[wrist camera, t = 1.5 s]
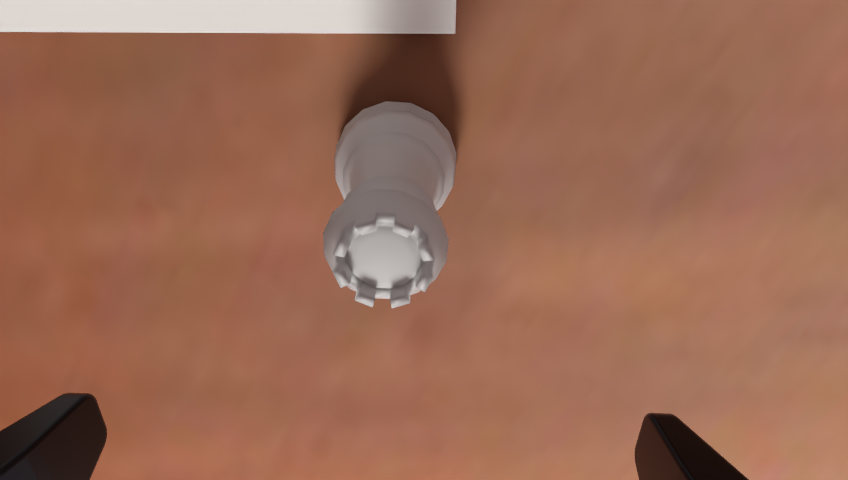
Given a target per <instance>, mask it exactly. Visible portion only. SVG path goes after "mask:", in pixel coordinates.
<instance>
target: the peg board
mask: <svg viewBox="0 0 848 480" xmlns="http://www.w3.org/2000/svg"><path fill="white" fill-rule="evenodd" d="M455 25H456V0H0V32H162V33H383V34H455Z"/></svg>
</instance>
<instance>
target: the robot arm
mask: <svg viewBox="0 0 848 480" xmlns="http://www.w3.org/2000/svg"><path fill="white" fill-rule="evenodd" d="M106 438H107V429H106V425H105V423H104V420H103V417H102V414H101V412H100V409H99V406H98V403H97V400H96V398H95V397H94V396H93V395H92V394H88V393H66V394H63V395H61V396H59V397H57V398H56V399H54V400H52V401H50V402H49V403H47V404H45V405H44V406H42V407H40V408H39V409H37V410H35V411H34V412H32V413H30V414H29V415H27V416H25V417H23V418H22V419H20V420H18V421H17V422H15V423H13V424H12V425H10V426H8V427H7V428H5V429H3V430H2V431H0V480H90V478H91V475H92V473H93V471H94V468H95V466H96V464H97V461H98V459H99V457H100V454H101V452H102V450H103V448H104V445H105V442H106ZM635 463H636V467H637V472H638V476H639V480H749V479H747V478H746V477H745V476H744V475H743V474H742V473H740V472H739V471H738V470H737V469H736V468H735V467H734V466H732V465H731V464H730V463H729V462H728V461H727V460H726V459H724V458H723V457H722V456H721V455H720V454H719V453H718V452H716V451H715V450H714V449H713V448H712V447H711V446H710V445H708V444H707V443H706V442H705V441H704V440H703V439H702V438H700V437H699V436H698V435H697V434H696V433H695V432H694V431H692V430H691V429H690V428H689V427H688V426H687V425H686V424H684V423H683V422H682V421H681V420H680V419H679V418H677V417H676V416H674V415H672V414H664V413H649V414H647V415H646V416H645V417H644V420H643V423H642V426H641V430H640V433H639V437H638V440H637V443H636V447H635Z"/></svg>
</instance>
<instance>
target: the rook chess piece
mask: <svg viewBox="0 0 848 480" xmlns="http://www.w3.org/2000/svg"><path fill="white" fill-rule="evenodd" d="M456 155H457V154H456V151H455V148H454V145H453V142H452V139H451V135H450V132H449V131H448V130H447V129H446V128H445V126H444V125H443V124H442V123H441V122H440V121H439V120H438V118H437V117H436V116H435V115H434V114H433V113H431V112H429V111H427V110H425V109H423V108H420V107H418V106H416V105H414V104H412V103H405V102H388V101H386V102H383V103H380V104H377V105H374V106H371V107H368V108H366V109H363V110H362V111H361V112H359V113H358V114H357V115H356V116H355V117H354V118H353V119H352V120H351V121H350V122H349V123H348V124H347V125H345V127H344V130H343V132H342V134H341V137H340V139H339V141H338V144H337V146H336V153H335V179H336V182H337V184H338V186H339V189H340V191H341V193H342V195H343V197H344V202H343V204H342V205H341V206H339V207H338V208H337V209H336V210H335V211H334V212H333V213H332V215H331V217H330V219H329V221H328V224H327V226H326V228H325V230H324V233H323V240H324V256H325V258H326V260H327V262H328V264H329V266H330V268H331V270H332V272H333V274H334V276H335V278H336V280H337V282H338V284H339V286H340V288H342V287H344V286H347V287H349V288H350V289H351V290H353V291H356V296H355V301H357V302H360V303H363V304H365V305H368V306H370V307H373V304H374V300H375V298H382V299H390V301H391V306H392V308H395V307H398V306H402V305H405V304H409V303H410V295H412V294H415V293H418V292H420V291H421V290H422V291H423V292H425V291H426V289H427V287H428V286H429V284H430V283H432V282H433V281H434V280H436V278H437V276H438V275H439V273H440V271H441V269H442V268H443V266H444V264H445V263H446V261H447V251H448V240H449V239H448V237H447V234H446V231H445V228H444V226H443V223H442V220H441V218H440V217H439V216H438V214H437V210H438V209H439V208H441V207H442V205H443V204H444V202H445V200H446V198H447V196H448V195H449V193H450V191H451V189H452V187H453V185H454V179H455V168H456Z"/></svg>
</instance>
